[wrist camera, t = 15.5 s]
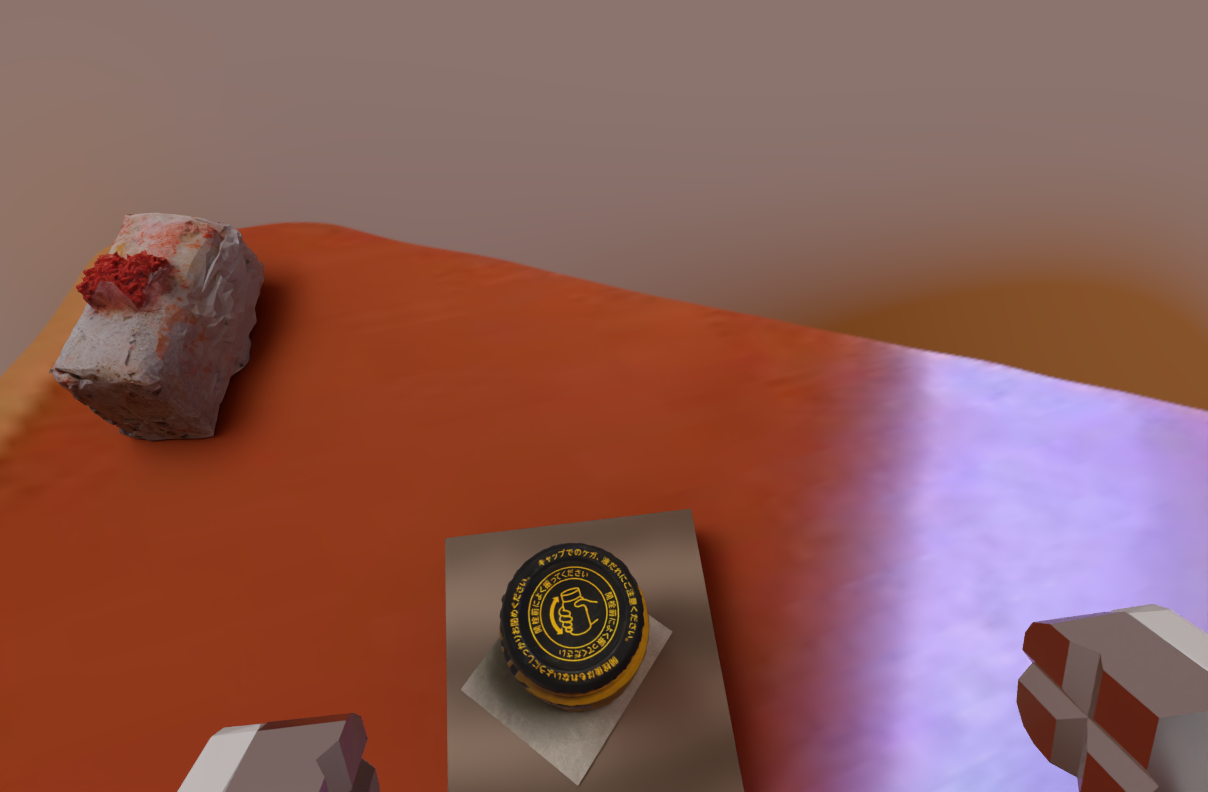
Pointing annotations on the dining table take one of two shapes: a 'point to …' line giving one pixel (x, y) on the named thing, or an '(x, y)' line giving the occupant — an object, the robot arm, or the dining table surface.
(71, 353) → the food item
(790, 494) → the dining table surface
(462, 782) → the base
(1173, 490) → the dining table surface
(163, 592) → the dining table surface
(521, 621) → the condiment
